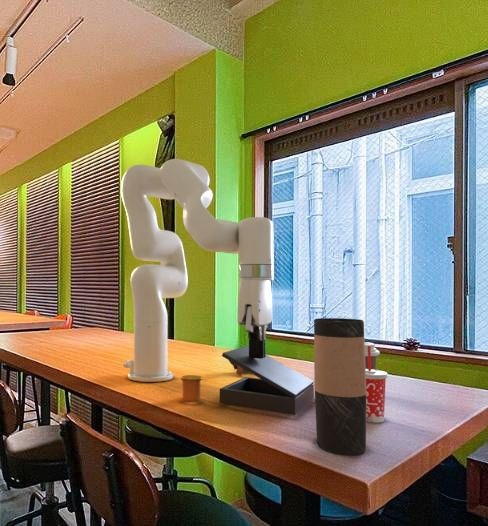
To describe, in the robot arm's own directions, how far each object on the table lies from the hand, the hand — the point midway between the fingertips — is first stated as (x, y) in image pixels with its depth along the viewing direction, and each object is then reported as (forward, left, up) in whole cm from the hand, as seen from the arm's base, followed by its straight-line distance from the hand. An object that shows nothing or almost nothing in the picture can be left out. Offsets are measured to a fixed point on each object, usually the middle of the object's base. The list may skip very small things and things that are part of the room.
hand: (257, 357), depth 96 cm
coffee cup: (+17, +22, -10) cm, 30 cm away
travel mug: (+20, -18, -10) cm, 29 cm away
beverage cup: (+22, +1, -10) cm, 24 cm away
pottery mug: (-15, +30, -10) cm, 35 cm away
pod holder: (+2, 0, -10) cm, 10 cm away
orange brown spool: (-13, -7, -10) cm, 17 cm away
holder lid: (+2, 0, -3) cm, 3 cm away
